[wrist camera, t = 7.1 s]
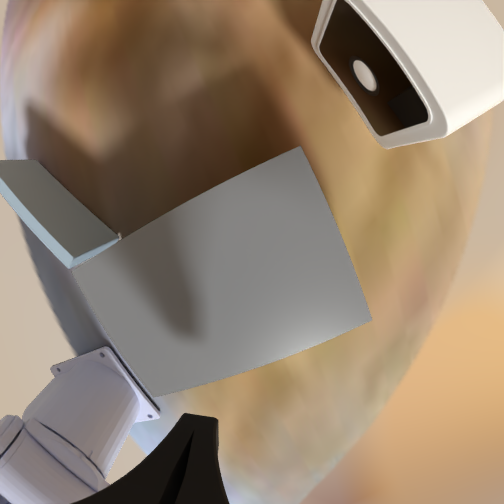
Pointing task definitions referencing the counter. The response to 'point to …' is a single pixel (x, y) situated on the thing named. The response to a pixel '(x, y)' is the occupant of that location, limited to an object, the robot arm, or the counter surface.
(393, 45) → the security camera
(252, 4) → the counter surface
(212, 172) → the counter surface
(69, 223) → the side door
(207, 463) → the robot arm
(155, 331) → the camera case
